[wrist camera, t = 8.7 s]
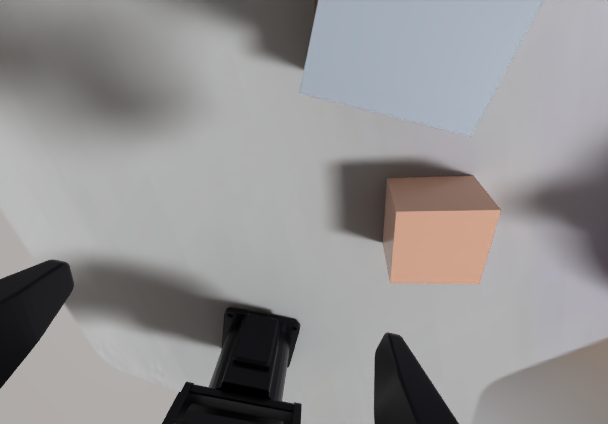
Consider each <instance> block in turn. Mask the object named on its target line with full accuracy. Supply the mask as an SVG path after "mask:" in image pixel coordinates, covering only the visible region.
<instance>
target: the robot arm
mask: <svg viewBox="0 0 608 424" xmlns="http://www.w3.org/2000/svg"><path fill="white" fill-rule="evenodd" d="M73 286H74V282H73V278H72V274H71V269H70V266H69V264H68V263H66V262H63V261H58V260H48V261H45V262H43V263H40V264H38V265H35V266H33V267H30V268H28V269H25V270H22V271H20V272H17V273H15V274H12V275H10V276H7V277H5V278H2V279H0V388H1V387H2V386H3V385H4V383H5V382H6V381H7V380H8V379H9V377H10V376H11V375H12V374H13V372H14V371H15V370H16V369H17V367H18V366H19V365H20V364H21V362H22V361H23V360H24V359H25V358H26V356H27V355H28V354H29V353H30V351H31V350H32V349H33V347H34V346H35V345H36V344H37V342H38V341H39V340H40V338H41V337H42V335H43V334H44V333H45V331H46V329H47V328H48V327H49V325H50V324H51V322H52V320H53V319H54V317H55V316H56V315H57V313H58V312H59V310H60V309H61V307H62V305H63V304H64V302H65V301H66V299H67V298H68V296H69V295H70V293H71V292H72V290H73ZM299 330H300V323H299V322H297V321H293V320H288V319H283V318H278V317H273V316H269V315H264V314H259V313H254V312H249V311H244V310H239V309H235V308H227V309H226V312H225V314H224V326H223V340H222V351H221V354H220V356H219V359H218V362H217V365H216V368H215V371H214V374H213V376H212V379H211V382H210V385H209V387H204V386H198V385H194V383H190V382H186V383H185V385H184V387H183V389H182V391H181V392H179V393H178V395H177V397H176V399H175V400H174V402H173V404H172V406H171V408H170V410H169V412H168V413H167V415H166V417H165V419H164V421H163V423H162V424H301V404H300V403H295V402H294V404H293V403H287V402H282V396H283V390H284V383H285V377H286V370H287V368H288V367H289V365H290V362H291V358H292V355H293V351H294V348H295V344H296V341H297V337H298V334H299ZM374 419H375V424H459V423H458V422H457V420H456V419H455V417H454V416H453V414H452V413H451V411H450V410H449V408H448V407H447V405H446V403H445V402H444V400H443V399H442V397H441V396H440V394H439V393H438V391H437V390H436V388H435V387H434V385H433V384H432V382H431V381H430V379H429V378H428V376H427V375H426V373H425V372H424V370H423V369H422V367H421V365H420V364H419V362H418V361H417V359H416V358H415V356H414V355H413V353H412V352H411V350H410V349H409V347H408V346H407V344H406V343H405V341H404V340H403V338H402V337H401V336H400V335H397V334H392V333H386V334H385V335H384V336H383V338H382V340H381V342H380V344H379V346H378V347H377V350H376V353H375V379H374Z"/></svg>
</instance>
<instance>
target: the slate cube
mask: <svg viewBox="0 0 608 424" xmlns="http://www.w3.org/2000/svg"><path fill="white" fill-rule="evenodd" d="M542 2H543V0H318V4H317V9H316V14H315V18H314V23H313V28H312V33H311V38H310V43H309V48H308V53H307V57H306V62H305V67H304V72H303V77H302V82H301V87H300V92H299V93H300V94H304V95H308V96H312V97H316V98H320V99H324V100H328V101H332V102H336V103H340V104H344V105H348V106H352V107H355V108H359V109H363V110H367V111H371V112H375V113H379V114H383V115H387V116H391V117H395V118H399V119H403V120H407V121H411V122H414V123H418V124H422V125H426V126H430V127H434V128H438V129H442V130H446V131H450V132H454V133H458V134H462V135H466V136H470V137H471V136H472V134H473V132H474V130H475V128H476V126H477V124H478V123H479V121H480V119H481V117H482V115H483V113H484V111H485V109H486V107H487V106H488V104H489V102H490V100H491V98H492V96H493V94H494V92H495V91H496V89H497V87H498V85H499V83H500V81H501V79H502V77H503V75H504V74H505V72H506V70H507V68H508V66H509V64H510V62H511V60H512V58H513V57H514V55H515V53H516V51H517V49H518V47H519V45H520V43H521V41H522V40H523V38H524V36H525V34H526V32H527V30H528V28H529V26H530V25H531V23H532V21H533V19H534V17H535V15H536V13H537V11H538V9H539V8H540V6H541V4H542Z"/></svg>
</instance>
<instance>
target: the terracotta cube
mask: <svg viewBox="0 0 608 424" xmlns="http://www.w3.org/2000/svg"><path fill="white" fill-rule="evenodd" d="M500 212H501V209H500V208H499V207H498V206H497V204H496V203H495V202H494V201H493V199H492V198H491V197H490V196H489V194H488V193H487V192H486V191H485V189H484V188H483V187H482V186H481V184H480V183H479V182H478V181H477V179H476V178H475V177H474V176H440V177H405V178H387V185H386V201H385V217H384V233H383V246H384V252H385V258H386V263H387V269H388V274H389V280H390V283H438V284H480V281H481V277H482V274H483V270H484V267H485V263H486V260H487V256H488V253H489V249H490V246H491V243H492V239H493V236H494V232H495V229H496V225H497V222H498V218H499V215H500Z"/></svg>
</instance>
